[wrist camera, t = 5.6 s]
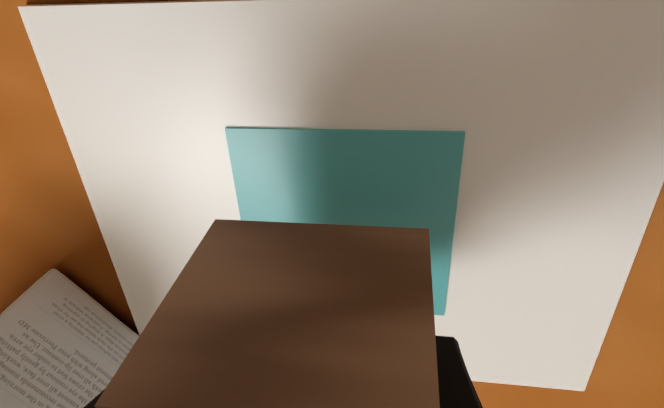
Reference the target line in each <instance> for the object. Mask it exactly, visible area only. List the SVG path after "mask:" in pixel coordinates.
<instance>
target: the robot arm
mask: <svg viewBox="0 0 664 408" xmlns="http://www.w3.org/2000/svg"><path fill="white" fill-rule="evenodd" d="M435 337H436V353H437V370H438V386H439V402H440V408H483V407H482V405H481V402H480V400H479V398H478V396H477V393H476V391H475V388H474V386H473V384H472V381H471V379H470V376H469V374H468V371H467V368H466V366H465V363H464V360H463V357H462V354H461V351H460V348H459V344H458V341H457V340H456V339H455V338H454V337H447V336H435ZM105 389H106V388H105ZM105 389H104V390H105ZM104 390H103V391H102V392H101V393H100V394H98V395H97V396H96V397H95V398H94V399H93V400H92V401H90V402H89V403H88V404H87V405H86V406H85V407H83V408H95V404H96V402H97V401H98V399H99V398H100V396H101V395H102V393H103V392H104Z"/></svg>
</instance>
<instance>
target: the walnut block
mask: <svg viewBox="0 0 664 408" xmlns="http://www.w3.org/2000/svg"><path fill="white" fill-rule="evenodd" d="M95 408H440V402H439V386H438V370H437V353H436V337H435V321H434V304H433V288H432V272H431V256H430V239H429V229H427V228H404V227H381V226H358V225H335V224H312V223H290V222H267V221H244V220H221V219H215V220H214V222H213V224H212V225H211V227H210V228H209V230H208V231H207V233H206V234H205V236H204V237H203V239H202V241H201V242H200V244H199V245H198V247H197V248H196V250H195V251H194V253H193V254H192V256H191V257H190V259H189V261H188V262H187V264H186V265H185V267H184V268H183V270H182V271H181V273H180V274H179V276H178V278H177V279H176V281H175V282H174V284H173V285H172V287H171V288H170V290H169V291H168V293H167V294H166V296H165V298H164V299H163V301H162V302H161V304H160V305H159V307H158V308H157V310H156V311H155V313H154V315H153V316H152V318H151V319H150V321H149V322H148V324H147V325H146V327H145V328H144V330H143V332H142V333H141V335H140V336H139V338H138V339H137V341H136V342H135V344H134V345H133V347H132V348H131V350H130V352H129V353H128V355H127V356H126V358H125V359H124V361H123V362H122V364H121V365H120V367H119V369H118V370H117V372H116V373H115V375H114V376H113V378H112V379H111V381H110V382H109V384H108V385H107V387H106V389H105V390H104V392H103V393H102V395H101V396H100V398H99V399H98V401H97V402H96V404H95Z"/></svg>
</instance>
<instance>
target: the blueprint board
mask: <svg viewBox="0 0 664 408" xmlns="http://www.w3.org/2000/svg"><path fill="white" fill-rule="evenodd" d="M18 9H19V12H20V15H21V17H22V20H23V23H24V25H25V28H26V31H27V33H28V36H29V39H30V42H31V44H32V47H33V50H34V52H35V55H36V58H37V60H38V63H39V66H40V68H41V71H42V74H43V77H44V79H45V82H46V85H47V87H48V90H49V93H50V95H51V98H52V101H53V104H54V106H55V109H56V112H57V114H58V117H59V120H60V122H61V125H62V128H63V130H64V133H65V136H66V139H67V141H68V144H69V147H70V149H71V152H72V155H73V157H74V160H75V163H76V166H77V168H78V171H79V174H80V176H81V179H82V182H83V184H84V187H85V190H86V192H87V195H88V198H89V201H90V203H91V206H92V209H93V211H94V214H95V217H96V219H97V222H98V225H99V228H100V230H101V233H102V236H103V238H104V241H105V244H106V246H107V249H108V252H109V254H110V257H111V260H112V263H113V265H114V268H115V271H116V273H117V276H118V279H119V281H120V284H121V287H122V290H123V292H124V295H125V298H126V300H127V303H128V306H129V308H130V311H131V314H132V316H133V319H134V322H135V325H136V327H137V330H138V333H139V335H141V333H142V332H143V330H144V328H145V327H146V325H147V324H148V322H149V321H150V319H151V318H152V316H153V315H154V313H155V311H156V310H157V308H158V307H159V305H160V304H161V302H162V301H163V299H164V298H165V296H166V294H167V293H168V291H169V290H170V288H171V287H172V285H173V284H174V282H175V281H176V279H177V278H178V276H179V274H180V273H181V271H182V270H183V268H184V267H185V265H186V264H187V262H188V261H189V259H190V257H191V256H192V254H193V253H194V251H195V250H196V248H197V247H198V245H199V244H200V242H201V241H202V239H203V237H204V236H205V234H206V233H207V231H208V230H209V228H210V227H211V225H212V224H213V222H214V220H215V219H221V220H244V221H267V222H290V223H312V224H335V225H358V226H381V227H404V228H427V229H429V239H430V256H431V272H432V288H433V304H434V321H435V336H447V337H454V338H455V339H456V340H457V341H458V344H459V348H460V351H461V354H462V357H463V360H464V363H465V366H466V368H467V371H468V374H469V376H470V379H471V381H479V382H490V383H501V384H511V385H522V386H533V387H544V388H554V389H565V390H576V391H584V390H585V388H586V385H587V382H588V380H589V377H590V375H591V372H592V369H593V367H594V364H595V361H596V359H597V356H598V353H599V351H600V348H601V346H602V343H603V340H604V338H605V335H606V332H607V330H608V327H609V324H610V322H611V319H612V317H613V314H614V311H615V309H616V306H617V303H618V301H619V298H620V295H621V293H622V290H623V288H624V285H625V282H626V280H627V277H628V274H629V272H630V269H631V266H632V264H633V261H634V259H635V256H636V253H637V251H638V248H639V245H640V243H641V240H642V237H643V235H644V232H645V229H646V227H647V224H648V222H649V219H650V216H651V214H652V211H653V208H654V206H655V203H656V200H657V198H658V195H659V193H660V190H661V187H662V185H663V182H664V0H193V1H155V2H117V3H79V4H41V5H23V6H18Z"/></svg>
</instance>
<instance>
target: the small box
mask: <svg viewBox="0 0 664 408" xmlns="http://www.w3.org/2000/svg"><path fill="white" fill-rule="evenodd" d="M138 338H139V335H138V334H136V333H135V332H134V331H132V330H131V329H130V328H129V327H127V326H126V325H125V324H124V323H122V322H121V321H120V320H119V319H117V318H116V317H115V316H114V315H113V314H111V313H110V312H109V311H108V310H106V309H105V308H104V307H103V306H102V305H100V304H99V303H98V302H97V301H95V300H94V299H93V298H92V297H91V296H89V295H88V294H87V293H86V292H84V291H83V290H82V289H81V288H79V287H78V286H77V285H76V284H75V283H73V282H72V281H71V280H70V279H68V278H67V277H66V276H65V275H63V274H62V273H61V272H59V271H58V270H56V269H50V270H49V271H48V272H47V273H45V274H44V275H43V276H42V277H41V278H40V279H38V280H37V281H36V282H35V283H34V284H33V285H32V286H31V287H30V288H28V289H27V290H26V291H25V292H24V293H23V294H22V295H21V296H19V297H18V298H17V299H16V300H15V301H14V302H13V303H12V304H11V305H10V306H9V307H7V308H6V309H5V310H4V311H3V312H2V313H1V314H0V408H83V407H85V406H86V405H87V404H88V403H89V402H90V401H92V400H93V399H94V398H95V397H96V396H97V395H98V394H100V393H101V392H102V391H103V390H104V389H105V388H106V387H107V385H108V384H109V382H110V381H111V379H112V378H113V376H114V375H115V373H116V372H117V370H118V369H119V367H120V365H121V364H122V362H123V361H124V359H125V358H126V356H127V355H128V353H129V352H130V350H131V348H132V347H133V345H134V344H135V342H136V341H137V339H138Z"/></svg>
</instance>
